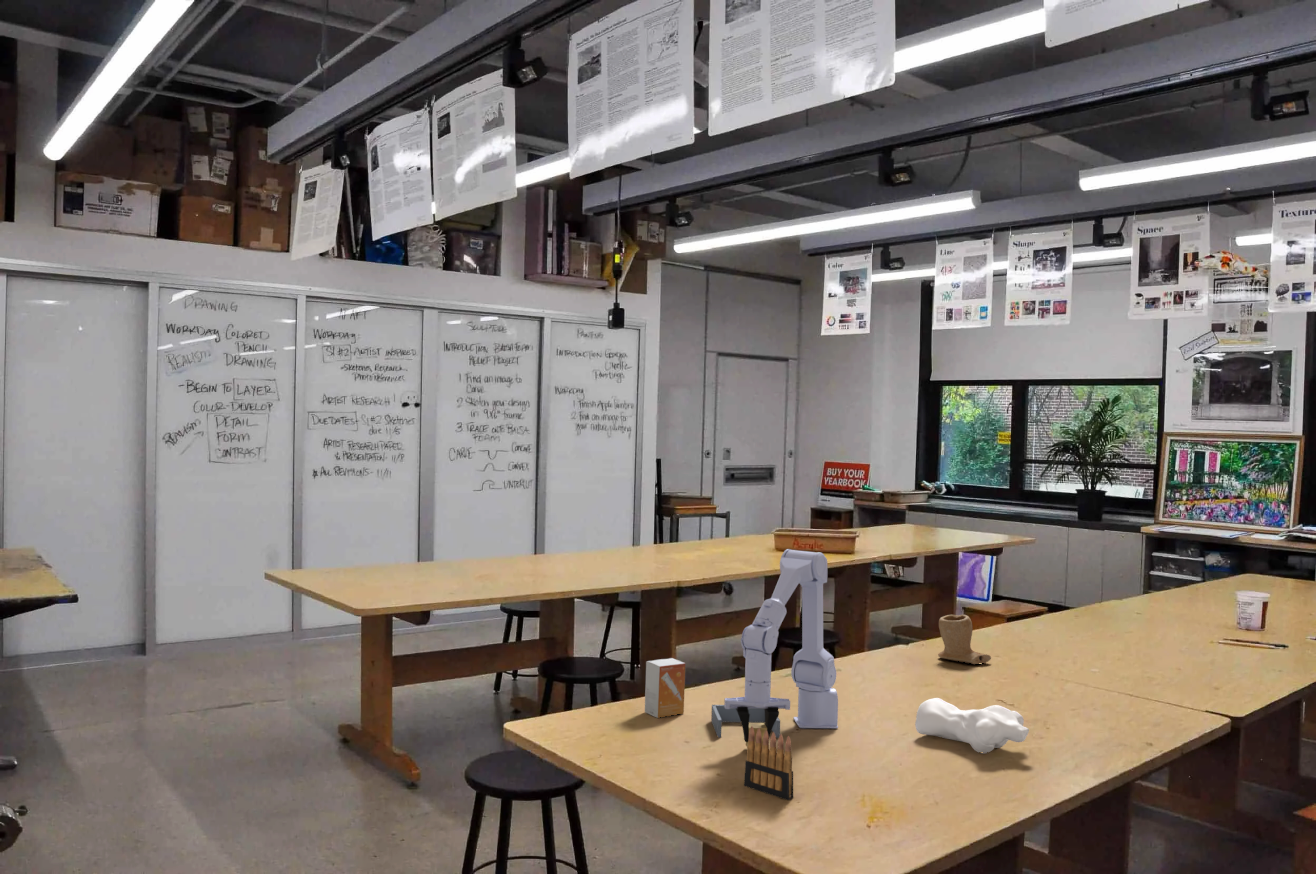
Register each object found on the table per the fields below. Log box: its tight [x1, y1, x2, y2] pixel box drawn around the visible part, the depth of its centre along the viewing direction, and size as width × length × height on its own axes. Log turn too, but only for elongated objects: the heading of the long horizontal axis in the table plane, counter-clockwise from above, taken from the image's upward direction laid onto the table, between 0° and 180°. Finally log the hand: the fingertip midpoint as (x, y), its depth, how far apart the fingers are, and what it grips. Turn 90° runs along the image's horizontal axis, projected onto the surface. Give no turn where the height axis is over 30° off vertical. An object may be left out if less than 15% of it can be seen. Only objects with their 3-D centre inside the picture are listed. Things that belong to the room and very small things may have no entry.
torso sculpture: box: [914, 697, 1030, 754], centre depth 221 cm, size 18×10×25 cm
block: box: [745, 722, 767, 748], centre depth 213 cm, size 4×4×5 cm
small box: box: [644, 657, 686, 719], centre depth 241 cm, size 8×6×13 cm
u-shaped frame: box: [710, 704, 781, 739], centre depth 230 cm, size 15×13×4 cm
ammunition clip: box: [743, 726, 794, 801], centre depth 189 cm, size 11×2×12 cm, turn 48°
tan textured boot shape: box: [937, 614, 992, 665], centre depth 308 cm, size 15×12×15 cm
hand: (756, 740), depth 213 cm, fingers closed on block, 4 cm apart
